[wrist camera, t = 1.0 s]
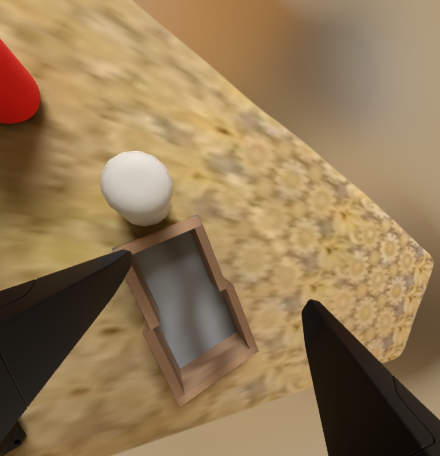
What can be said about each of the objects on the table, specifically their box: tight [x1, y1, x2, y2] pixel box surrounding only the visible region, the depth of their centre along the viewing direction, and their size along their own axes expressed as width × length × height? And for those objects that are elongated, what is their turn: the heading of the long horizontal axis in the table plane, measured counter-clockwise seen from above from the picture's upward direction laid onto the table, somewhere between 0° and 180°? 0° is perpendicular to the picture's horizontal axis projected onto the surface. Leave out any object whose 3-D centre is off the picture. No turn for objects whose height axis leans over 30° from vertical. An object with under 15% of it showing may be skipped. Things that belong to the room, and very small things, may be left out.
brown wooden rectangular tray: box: [112, 215, 258, 407], centre depth 23 cm, size 11×19×4 cm, turn 22°
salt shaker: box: [101, 151, 173, 226], centre depth 17 cm, size 6×6×13 cm
